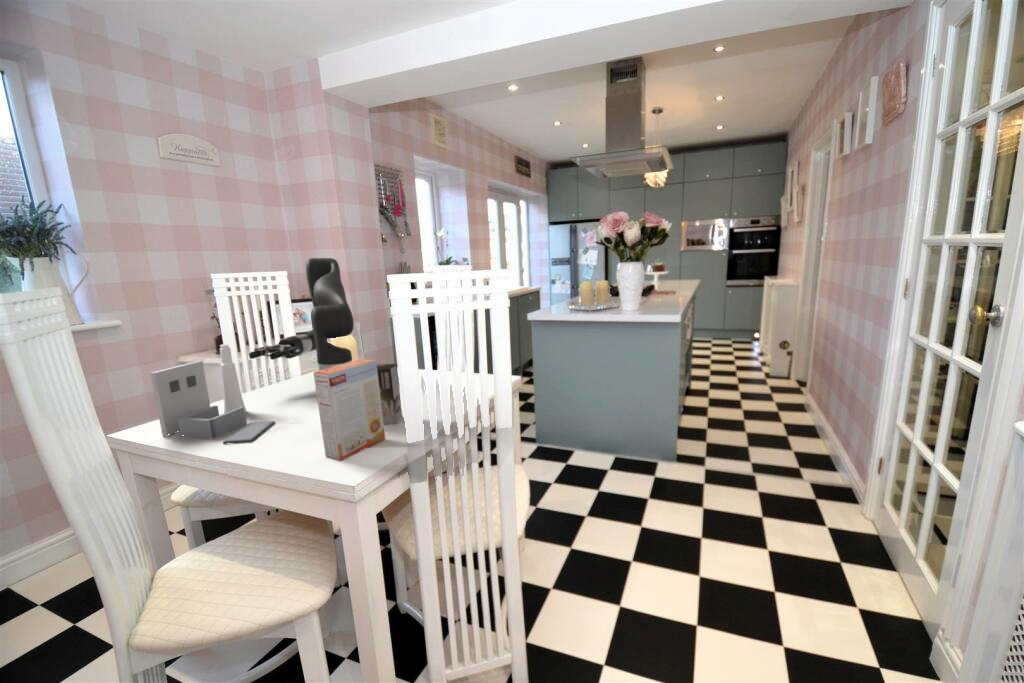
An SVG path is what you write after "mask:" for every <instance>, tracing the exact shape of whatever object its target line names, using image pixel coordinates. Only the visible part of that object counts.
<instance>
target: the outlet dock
mask: <svg viewBox="0 0 1024 683" xmlns="http://www.w3.org/2000/svg"><path fill="white" fill-rule="evenodd" d="M150 380H151V384H152V389H153V393H154V398H155V400H154V401H155V404H156V410H157V414H158V420H159V424H160V425H159V426H160V429H161V435H162V436H163V435H168V434H172V433H174V434H176V433H175V432H177V431H179V432H180V436H181V435H184V436H183V437H186V436H194V437H193V438H199V437H204V438H203V439H211V438H212V439H214V437H215V438H216V436H217V437H219V436H222V435H223V433H224V434H226V433H228V432H231V431H233V430H236V429H237V427H238V428H240V427H242V426H245V425H247V424H248V422H247V418H246V413H245V411H244V407H239V408H237V409H234V410H232V411H229V412H226V413H224V412H223V413H221V414H220V412H219V406H218V405H212V406H211V403H210V398H209V391H208V387H207V386H208V385H207V384H208V383H207V378H206V374H205V366H204V362H203V360H197V361H196V360H195V361H192V362H188V363H185V364H180V365H177V366H172V367H168V368H166V369H165V368H164V369H160V370H157V371H156V370H155V371H152V372H150ZM230 430H231V431H230ZM225 432H226V433H225ZM177 433H178V432H177ZM221 434H222V435H221ZM172 435H173V434H172Z"/></svg>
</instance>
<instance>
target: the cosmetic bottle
mask: <svg viewBox="0 0 1024 683" xmlns="http://www.w3.org/2000/svg"><path fill="white" fill-rule="evenodd" d="M229 345H230V344H228V343H225V344H220V345H219V347H220V348H219V355H220V359H221V360H220V362H221V364H220V372H221V373H220V374H221V382H222V390H223V391H222V392H223V402H224V403H223V405H224V406H223V407H224V408H223V414H224V413H226V412H229V411H232V410H234V409H237V408H239V407H244V411H245V414H246V413H247V408H246V405H245V403H244V400H243V397H242V396H243V395H242V392H241V387H240V383H239V379H238V373H237V369H236V364H235V362H233V357H232V352H231V351H232V349H231V347H229Z"/></svg>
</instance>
